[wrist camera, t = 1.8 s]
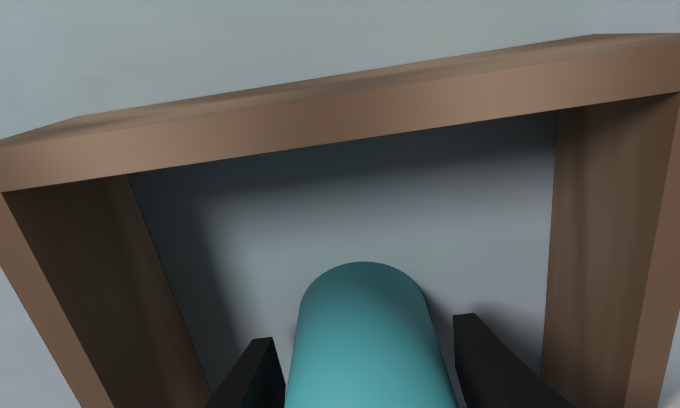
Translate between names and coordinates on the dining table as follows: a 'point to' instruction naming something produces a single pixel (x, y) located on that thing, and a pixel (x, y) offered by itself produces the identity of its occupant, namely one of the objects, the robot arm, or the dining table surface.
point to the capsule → (366, 344)
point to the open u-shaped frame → (350, 124)
